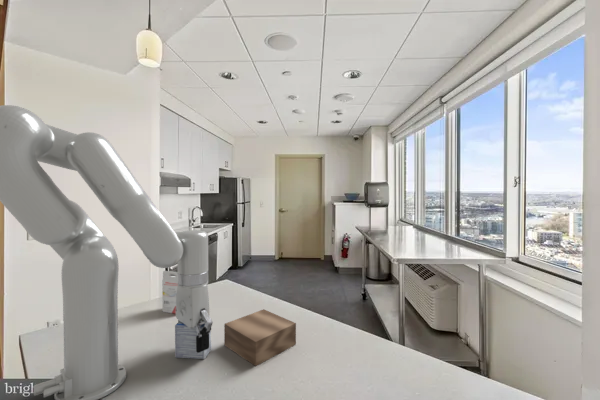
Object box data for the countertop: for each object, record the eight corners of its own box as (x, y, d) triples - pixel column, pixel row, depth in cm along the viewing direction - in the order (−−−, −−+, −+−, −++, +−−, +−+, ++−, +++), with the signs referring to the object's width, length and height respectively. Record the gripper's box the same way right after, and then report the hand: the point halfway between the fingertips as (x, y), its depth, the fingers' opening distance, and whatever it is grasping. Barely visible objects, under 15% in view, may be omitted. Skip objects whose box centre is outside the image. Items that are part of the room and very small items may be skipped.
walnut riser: (255, 366, 70) (255, 341, 70) (224, 345, 79) (224, 323, 79) (295, 344, 80) (295, 323, 80) (263, 328, 89) (263, 309, 89)
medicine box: (211, 350, 77) (211, 318, 77) (204, 360, 72) (204, 326, 72) (183, 348, 77) (183, 317, 77) (174, 358, 73) (174, 324, 73)
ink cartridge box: (191, 309, 104) (191, 269, 104) (181, 315, 99) (181, 272, 99) (171, 306, 106) (171, 267, 106) (161, 312, 102) (161, 270, 101)
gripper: (165, 274, 78) (165, 337, 78) (195, 289, 66) (195, 362, 66) (191, 269, 83) (191, 327, 84) (224, 282, 71) (224, 350, 72)
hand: (193, 343), depth 75 cm, fingers open, 9 cm apart
